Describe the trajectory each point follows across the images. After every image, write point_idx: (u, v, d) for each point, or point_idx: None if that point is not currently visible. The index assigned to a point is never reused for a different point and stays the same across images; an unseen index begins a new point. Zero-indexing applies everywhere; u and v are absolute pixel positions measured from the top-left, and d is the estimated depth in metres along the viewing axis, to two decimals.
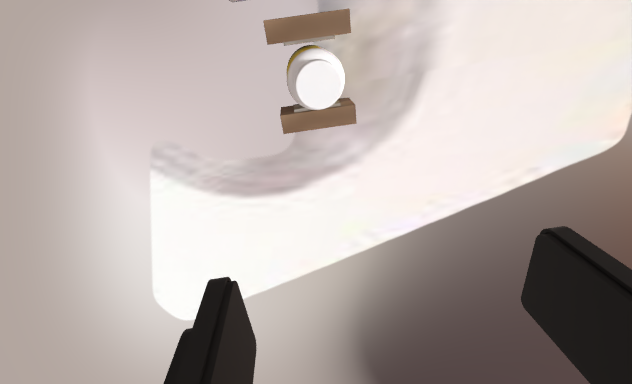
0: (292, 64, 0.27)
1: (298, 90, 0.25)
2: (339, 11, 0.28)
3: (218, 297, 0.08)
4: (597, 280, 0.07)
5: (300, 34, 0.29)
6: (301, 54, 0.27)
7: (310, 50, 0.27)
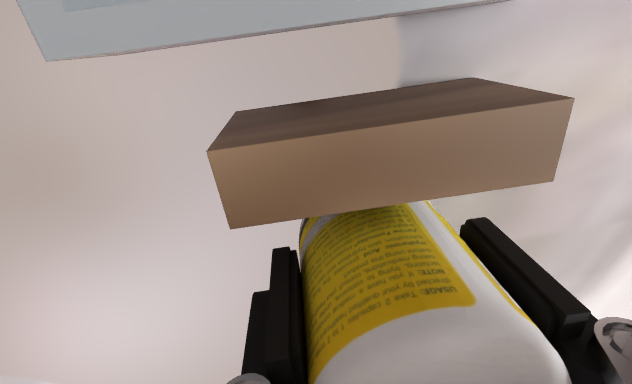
0: None
1: None
2: (531, 109, 0.07)
3: (285, 262, 0.09)
4: (498, 263, 0.08)
5: (360, 193, 0.07)
6: (391, 360, 0.05)
7: (440, 343, 0.05)
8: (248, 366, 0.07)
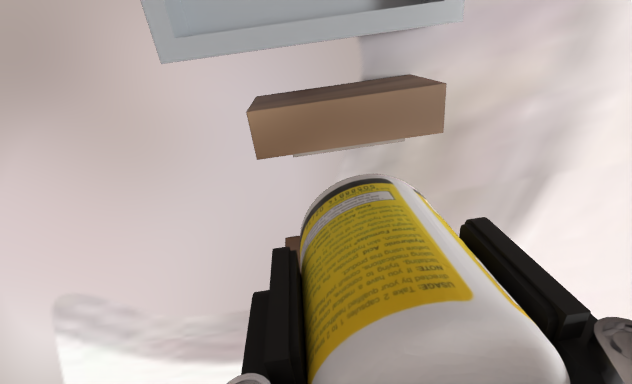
0: None
1: None
2: (423, 89, 0.12)
3: (285, 262, 0.09)
4: (497, 263, 0.08)
5: (331, 138, 0.13)
6: (389, 353, 0.05)
7: (437, 336, 0.05)
8: (248, 366, 0.07)
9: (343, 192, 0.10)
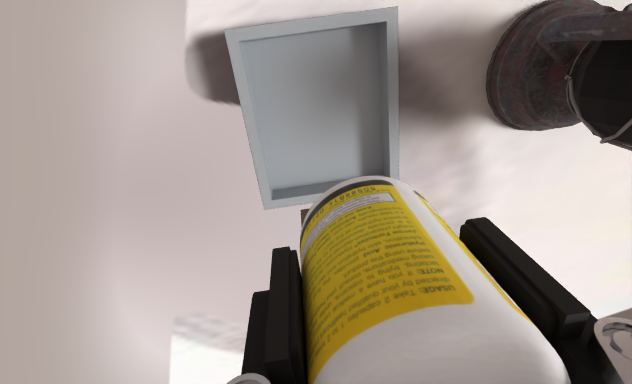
0: None
1: None
2: None
3: (285, 262, 0.09)
4: (497, 263, 0.08)
5: None
6: (390, 357, 0.05)
7: (438, 340, 0.05)
8: (248, 366, 0.07)
9: (343, 194, 0.10)
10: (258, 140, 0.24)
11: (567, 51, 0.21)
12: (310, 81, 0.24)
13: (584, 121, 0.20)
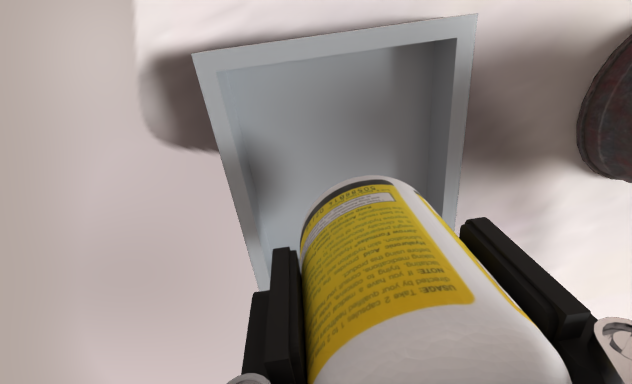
0: None
1: None
2: None
3: (285, 262, 0.09)
4: (497, 263, 0.08)
5: None
6: (390, 357, 0.05)
7: (438, 340, 0.05)
8: (248, 366, 0.07)
9: (343, 193, 0.10)
10: (251, 212, 0.16)
11: None
12: (328, 122, 0.16)
13: None
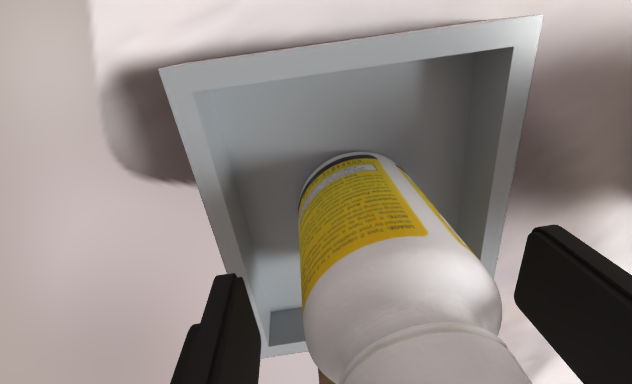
0: (325, 298, 0.07)
1: None
2: None
3: (225, 293, 0.08)
4: (586, 277, 0.07)
5: None
6: (361, 270, 0.07)
7: (396, 257, 0.07)
8: None
9: (335, 166, 0.12)
10: (242, 264, 0.13)
11: None
12: (338, 150, 0.13)
13: None
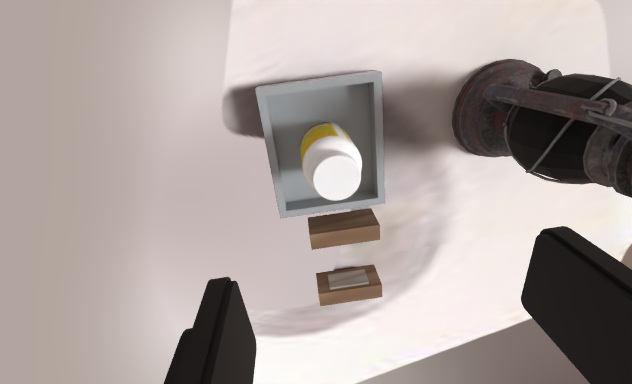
0: (308, 152, 0.26)
1: (316, 183, 0.24)
2: (371, 226, 0.34)
3: (218, 297, 0.08)
4: (597, 280, 0.07)
5: (339, 242, 0.35)
6: (318, 143, 0.26)
7: (327, 139, 0.26)
8: None
9: (314, 125, 0.31)
10: (277, 166, 0.32)
11: (506, 104, 0.29)
12: (316, 121, 0.32)
13: (514, 157, 0.27)
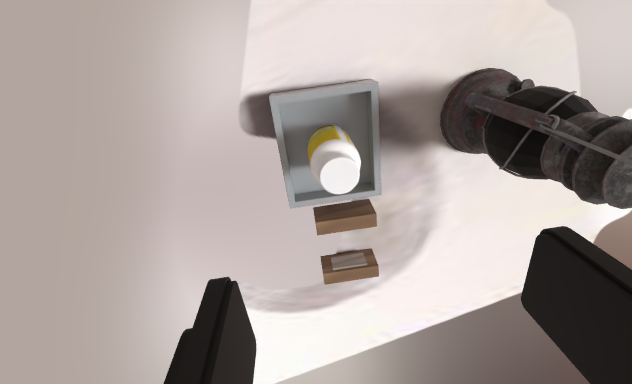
0: (315, 153, 0.31)
1: (322, 180, 0.29)
2: (369, 215, 0.40)
3: (218, 297, 0.08)
4: (597, 280, 0.07)
5: (341, 228, 0.40)
6: (323, 145, 0.31)
7: (331, 142, 0.31)
8: None
9: (320, 128, 0.36)
10: (287, 163, 0.37)
11: None
12: (321, 123, 0.37)
13: (490, 156, 0.32)
